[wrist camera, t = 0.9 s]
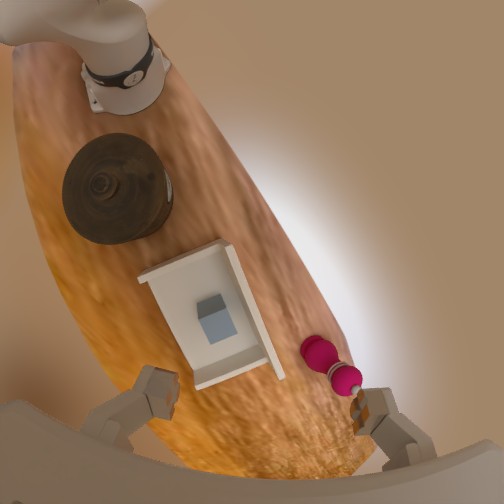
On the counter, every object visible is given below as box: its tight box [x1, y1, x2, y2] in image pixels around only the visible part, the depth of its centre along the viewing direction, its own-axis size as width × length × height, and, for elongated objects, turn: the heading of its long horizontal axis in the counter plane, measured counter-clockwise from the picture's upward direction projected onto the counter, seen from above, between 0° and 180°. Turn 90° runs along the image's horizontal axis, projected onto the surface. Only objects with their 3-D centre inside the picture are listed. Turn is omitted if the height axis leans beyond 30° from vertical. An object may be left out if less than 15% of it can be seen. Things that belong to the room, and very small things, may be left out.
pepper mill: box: [301, 336, 363, 396], centre depth 49 cm, size 7×7×20 cm
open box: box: [137, 238, 286, 390], centre depth 46 cm, size 24×16×14 cm, turn 21°
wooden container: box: [62, 133, 173, 245], centre depth 37 cm, size 15×15×22 cm
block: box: [197, 294, 238, 345], centre depth 47 cm, size 5×5×9 cm
